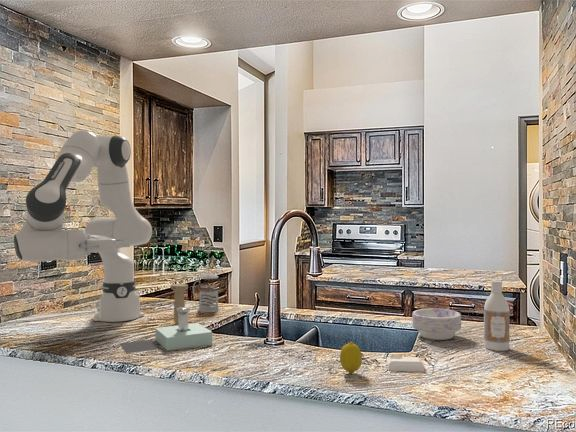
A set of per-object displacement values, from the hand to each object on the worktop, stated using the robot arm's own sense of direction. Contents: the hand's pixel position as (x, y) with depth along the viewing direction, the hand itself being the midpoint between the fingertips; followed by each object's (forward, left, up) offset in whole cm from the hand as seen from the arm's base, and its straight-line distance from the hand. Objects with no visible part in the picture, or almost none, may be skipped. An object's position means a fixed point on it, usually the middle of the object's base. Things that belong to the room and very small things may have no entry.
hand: (126, 242), depth 150 cm
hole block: (+5, +16, -32) cm, 36 cm away
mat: (+3, +3, -32) cm, 32 cm away
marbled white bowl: (+39, +90, -32) cm, 103 cm away
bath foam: (+58, +95, -32) cm, 116 cm away
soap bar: (+58, +59, -32) cm, 89 cm away
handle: (-16, +21, -32) cm, 41 cm away
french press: (-41, +40, -32) cm, 66 cm away
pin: (+5, +16, -32) cm, 36 cm away
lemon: (+55, +44, -32) cm, 77 cm away
